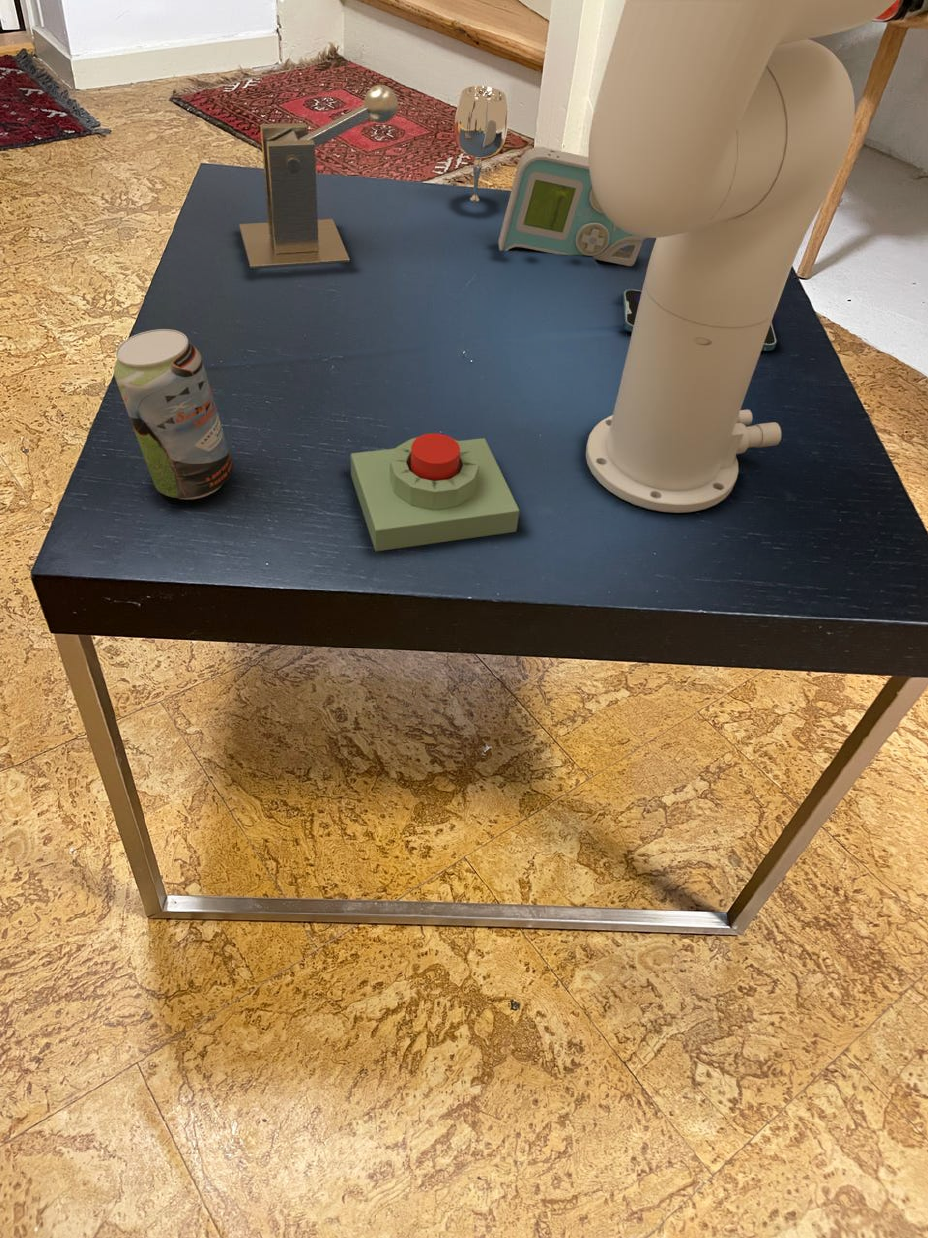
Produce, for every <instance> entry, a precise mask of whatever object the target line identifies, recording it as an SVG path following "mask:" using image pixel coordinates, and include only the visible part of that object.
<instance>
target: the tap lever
mask: <svg viewBox="0 0 928 1238" xmlns="http://www.w3.org/2000/svg"><path fill="white" fill-rule="evenodd" d="M398 108H399V102H398V97H397V95H396V93H395V91H394V90H393V89H392V88H391V87H389V86H387V85H385V84H376V85H374V86H371V87H370V88H369V89H368V90H367V92H366V93H365V95H364V101H363V104H362V105H360V106H358V107H356V108H354V109H352V110H350V111H348V112H347V113H345V114H343V115H341V116H339V117H338V118H336V119H333V120H332V121H330V122H328V123H326V124H324V125H323V126H321V127H318V128H317V129H315V130H313V131H311V132H310V133H309V132H308V135H306V136H304V137H302V138H300V139H298V138H297V136H296V134H295V132H294V131H292V132H290V133H288V134H286V135H284V136H282V137H281V138H279V139H277V140H275V141H292V140H313V141H314V143H315V148H317V147H319V146H321V145H323V144H325V143H326V142H329V141H330V140H332V139H334V138H337V137H338V136H340V135H341V134H343V133H345V132H348V131H349V130H351V129H353V128H355V127H357V126H359V125H360V124H363V123H365V122H366V121H368V120H370V119H371V120H372V121H373V122H375V123H378V124H385V123H388V122H390V121H392V119H394V117H395V116H396V115H397V111H398Z"/></svg>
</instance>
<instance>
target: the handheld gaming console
mask: <svg viewBox="0 0 928 1238" xmlns="http://www.w3.org/2000/svg"><path fill="white" fill-rule="evenodd" d="M511 186H512V187H511V191H510V194H509V199H508V203H507V205H506V206H507V207H506V211H505V214H504V218H503V222H502V226H501V229H500V234H499V237H498V250H499V251H500V252H501V251H504V252H508V251H509V250H510V249H513V248H523V249H529V250H534V251H539V252H543V253H548V254H552V255H553V254H554V255H563V256H564V255H565V256H587V257H588V256H589V257H592V258H593V260H597V261H603V262H607V263H612V264H617V265H622V266H626V267H632V266H634V265H635V264H636V261H637V258H638V256H639V253H640V250H641V248H642V245H643V242H644V240H645V239H647V238H646V237H640V236H636V235H632V234H630V233H627V232H625V231H623V230H621V229H620V228H619V227H617V226H616V225H615V224H613V223H612V222H611V221H610V220H609V219H608V218H607V216H606V215H605V214H604V212H603V211H602V209H601V207H600V205H599V203H598V201H597V199H596V197H595V194H594V191H593V188H592V184H591V178H590V172H589V156H586V155H585V156H584V155H580V154H575V153H572V152H566V151H562V150H558V149H553V148H549V147H544V146H534V147H532V148H530V149H527V150H526V151H525V152H524V153H523V154H522V155H521V157H520V159H519V161H518V163H517V167H516V171H515V175H514V178H513V183H512V185H511ZM627 246H628V248H627V249H626V250H621V249H622V248H625V247H627Z"/></svg>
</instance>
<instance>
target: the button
mask: <svg viewBox="0 0 928 1238" xmlns="http://www.w3.org/2000/svg"><path fill="white" fill-rule="evenodd" d="M417 437H418V438H417ZM417 437H415V438H416V439H415V440H414V441H413V443H412V446H411V469H412V471H413V473H414V474H415V475H416V476H418V477H419V478H422V479H427V480H432V481H439V480H447V479H451V478H452V477H454V476H455V475H456V473H457V472H458V467H459V456H460V447H459V445H458V443H457V442H456V441H455V440H456V439H454V438H453V437H451V436H449V435H447V434H443V433H437V432H436V433H435V432H432V433H431V432H430V433H425V434H422V435H420V436H417Z"/></svg>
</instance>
